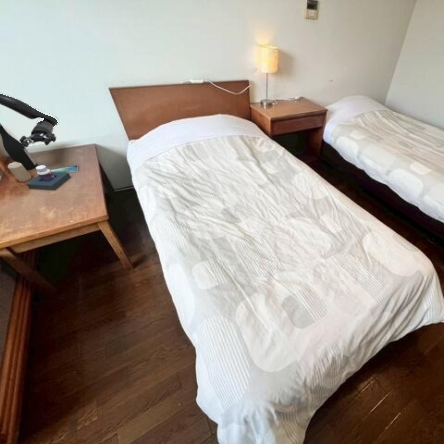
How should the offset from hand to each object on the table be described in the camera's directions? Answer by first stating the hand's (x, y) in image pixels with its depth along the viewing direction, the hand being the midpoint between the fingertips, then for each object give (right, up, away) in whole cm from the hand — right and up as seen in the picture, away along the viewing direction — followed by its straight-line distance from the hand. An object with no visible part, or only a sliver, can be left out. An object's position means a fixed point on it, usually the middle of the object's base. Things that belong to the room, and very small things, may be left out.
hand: (35, 144), depth 131 cm
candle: (-11, -18, +5) cm, 22 cm away
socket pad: (+4, -20, +5) cm, 21 cm away
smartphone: (+1, -12, +14) cm, 18 cm away
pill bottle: (+4, -20, +5) cm, 21 cm away
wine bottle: (-18, -9, +14) cm, 25 cm away
